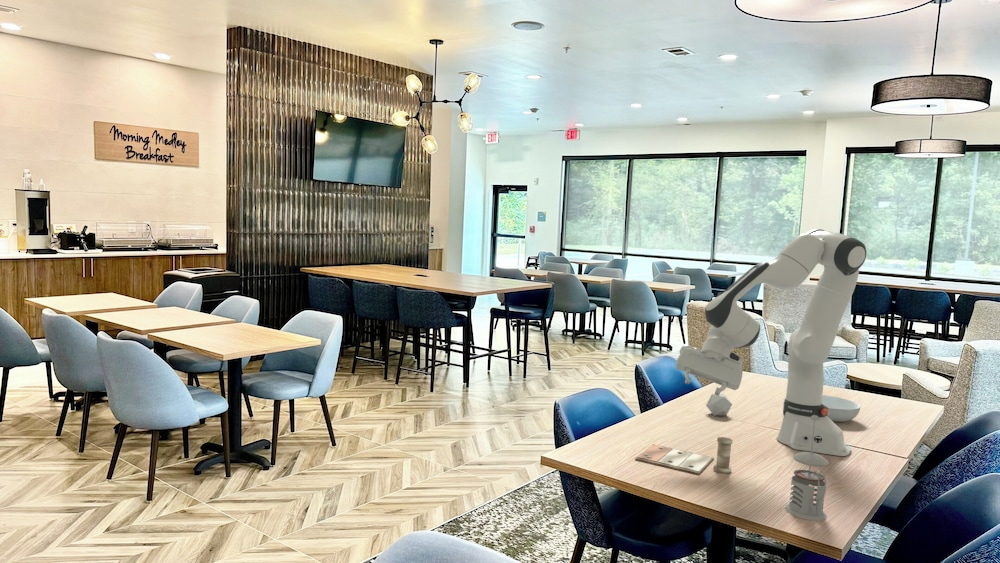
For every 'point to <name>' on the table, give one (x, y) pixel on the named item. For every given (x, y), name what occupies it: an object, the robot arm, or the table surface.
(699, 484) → the table surface
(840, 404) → the serving bowl
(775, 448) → the table surface
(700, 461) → the game board
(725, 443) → the beige flanged column
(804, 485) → the french press
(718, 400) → the die
